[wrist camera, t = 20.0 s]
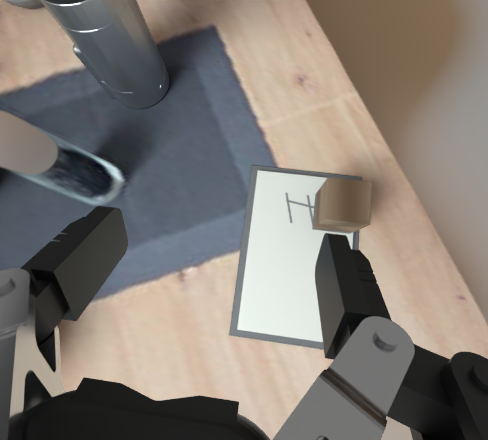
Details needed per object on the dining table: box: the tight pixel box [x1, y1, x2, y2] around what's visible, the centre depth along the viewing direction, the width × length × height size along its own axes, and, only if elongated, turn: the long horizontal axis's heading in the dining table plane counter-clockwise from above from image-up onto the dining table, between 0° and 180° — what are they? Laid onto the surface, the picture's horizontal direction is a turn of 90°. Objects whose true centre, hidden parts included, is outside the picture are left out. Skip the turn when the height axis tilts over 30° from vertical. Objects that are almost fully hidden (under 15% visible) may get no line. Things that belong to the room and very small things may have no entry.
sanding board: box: [229, 165, 362, 349], centre depth 38 cm, size 16×24×1 cm, turn 173°
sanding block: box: [312, 177, 372, 234], centre depth 35 cm, size 5×5×7 cm
